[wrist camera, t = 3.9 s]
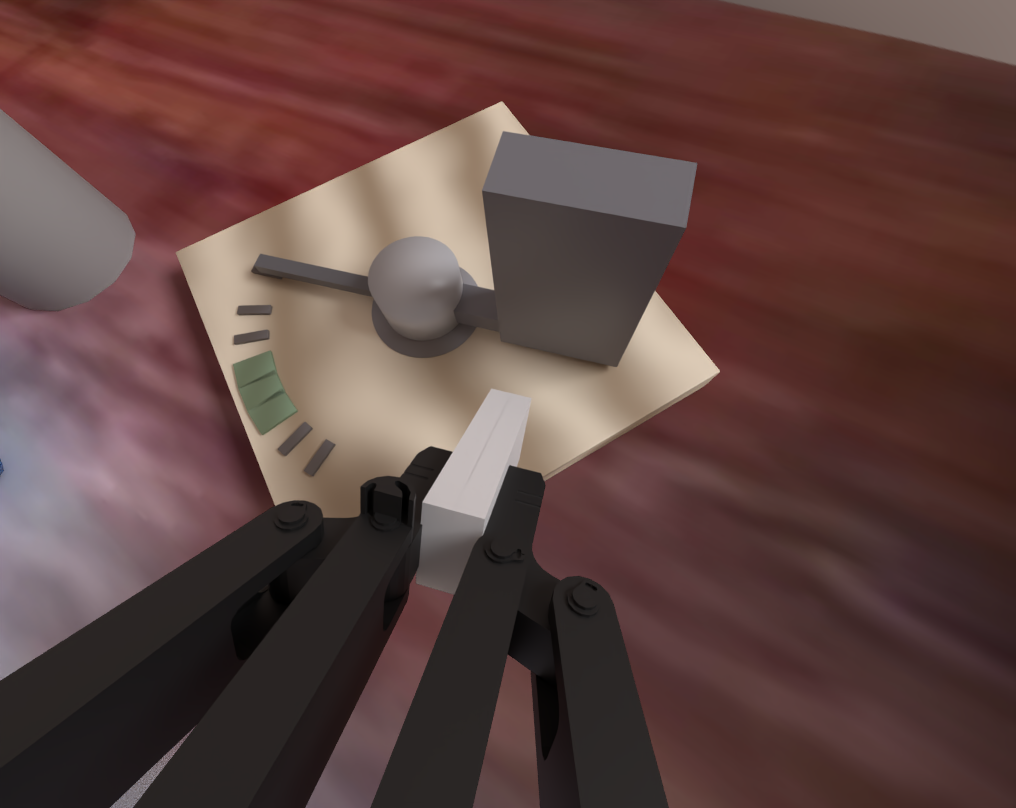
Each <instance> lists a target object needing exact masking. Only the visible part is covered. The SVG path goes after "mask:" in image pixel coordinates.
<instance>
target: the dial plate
mask: <svg viewBox="0 0 1016 808" xmlns="http://www.w3.org/2000/svg"><path fill="white" fill-rule="evenodd" d="M503 131H506V132H512V133H518V134H524V135H529V134H528V133H527V132H526V130H525V129H524V128H523V127H522V125H521V124H520V123H519V122H518V120H517V119H516V118H515V117H514V115H513V114H512V113H511V112H510V111H509V109H508V108H507V107H506V106H505V104H504V103H503V102H500V103H497V104H495V105H493V106H491V107H489V108H487V109H484V110H482V111H480V112H478V113H476V114H474V115H471V116H469V117H467V118H465V119H463V120H461V121H459V122H456V123H454V124H452V125H450V126H448V127H446V128H443V129H441V130H439V131H437V132H435V133H433V134H430V135H428V136H426V137H424V138H422V139H420V140H417V141H415V142H413V143H411V144H409V145H407V146H404V147H402V148H400V149H398V150H396V151H394V152H392V153H389V154H387V155H385V156H383V157H381V158H379V159H376V160H374V161H372V162H370V163H368V164H366V165H363V166H361V167H359V168H357V169H355V170H353V171H350V172H348V173H346V174H344V175H342V176H340V177H337V178H335V179H333V180H331V181H329V182H327V183H325V184H322V185H320V186H318V187H316V188H314V189H312V190H309V191H307V192H305V193H303V194H301V195H299V196H296V197H294V198H292V199H290V200H288V201H286V202H283V203H281V204H279V205H277V206H275V207H273V208H270V209H268V210H266V211H264V212H262V213H260V214H258V215H255V216H253V217H251V218H249V219H247V220H245V221H242V222H240V223H238V224H236V225H234V226H232V227H229V228H227V229H225V230H223V231H221V232H219V233H216V234H214V235H212V236H210V237H208V238H206V239H203V240H201V241H199V242H197V243H195V244H193V245H191V246H188V247H186V248H184V249H182V250H180V251H178V252H176V254H177V257H178V259H179V262H180V264H181V267H182V269H183V272H184V274H185V277H186V280H187V282H188V285H189V287H190V290H191V292H192V295H193V297H194V300H195V303H196V305H197V308H198V310H199V313H200V315H201V318H202V320H203V323H204V325H205V328H206V331H207V333H208V336H209V338H210V341H211V343H212V346H213V348H214V351H215V354H216V356H217V359H218V361H219V364H220V366H221V369H222V371H223V374H224V376H225V379H226V382H227V384H228V387H229V389H230V392H231V394H232V397H233V399H234V402H235V405H236V407H237V410H238V412H239V415H240V417H241V420H242V422H243V425H244V428H245V430H246V433H247V435H248V438H249V440H250V443H251V445H252V448H253V450H254V453H255V456H256V458H257V461H258V463H259V466H260V468H261V471H262V473H263V476H264V479H265V481H266V484H267V486H268V489H269V491H270V494H271V496H272V499H273V501H274V504H275V506H276V505H278V504H281V503H283V502H288V501H293V500H305V501H309V502H312V503H315V504H316V505H317V506H318V507H320V508H321V510H322V514H323V517H325V518H351V517H357V516H359V515H360V486H361V485H363V484H364V483H365V482H367V481H368V480H371V479H373V478H376V477H381V476H394V477H401V475H402V474H404V471H405V470H406V468H407V467H408V466H409V465H410V463H411V462H412V460H413V459H414V458H415V456H416V455H417V453H419V452H421V451H422V450H424V449H426V448H428V447H430V446H433V447H437V448H440V449H444V450H448V451H452V452H453V451H454V449H455V448H456V446H457V444H458V443H459V441H460V439H461V438H462V436H463V434H464V433H465V431H466V430H467V428H468V426H469V425H470V423H471V421H472V420H473V418H474V416H475V415H476V413H477V411H478V410H479V408H480V406H481V405H482V403H483V402H484V400H485V398H486V397H487V395H488V393H489V392H490V390H491V389H496V390H500V391H504V392H508V393H513V394H517V395H521V396H525V397H529V398H532V399H531V404H530V409H529V414H528V419H527V424H526V429H525V433H524V438H523V443H522V448H521V453H520V458H519V462H518V465H517V467H519V468H523V469H527V470H531V471H535V472H539V473H541V474H542V477H543V479H544V481H545V480H547V479H549V478H550V477H552V476H554V475H555V474H557V473H559V472H560V471H562V470H564V469H566V468H567V467H569V466H571V465H572V464H574V463H576V462H577V461H579V460H581V459H582V458H584V457H586V456H587V455H589V454H591V453H592V452H594V451H596V450H597V449H599V448H601V447H603V446H604V445H606V444H608V443H609V442H611V441H613V440H614V439H616V438H618V437H619V436H621V435H623V434H624V433H626V432H628V431H629V430H631V429H633V428H634V427H636V426H638V425H640V424H641V423H643V422H645V421H646V420H648V419H650V418H651V417H653V416H655V415H656V414H658V413H660V412H661V411H663V410H665V409H666V408H668V407H670V406H671V405H673V404H675V403H677V402H678V401H680V400H682V399H683V398H685V397H687V396H688V395H690V394H692V393H693V392H695V391H697V390H698V389H700V388H702V387H703V386H705V385H706V384H707V383H708V382H709V381H710V380H712V379H713V378H714V377H715V376H716V375H717V374H718V373H719V372H720V371H719V369H718V368H717V367H716V366H715V364H714V363H713V362H712V361H711V359H710V358H709V357H708V356H707V355H706V353H705V352H704V351H703V350H702V348H701V347H700V346H699V345H698V343H697V342H696V341H695V340H694V338H693V337H692V336H691V335H690V333H689V332H688V331H687V330H686V329H685V327H684V326H683V325H682V324H681V322H680V321H679V320H678V319H677V317H676V316H675V315H674V314H673V312H672V311H671V310H670V309H669V307H668V306H667V305H666V304H665V303H664V301H663V300H662V299H661V298H660V296H659V295H658V294H657V293H656V291H655V292H654V294H653V296H652V298H651V300H650V302H649V304H648V306H647V308H646V310H645V312H644V314H643V316H642V318H641V320H640V322H639V324H638V326H637V328H636V330H635V332H634V334H633V336H632V338H631V340H630V342H629V344H628V346H627V348H626V350H625V352H624V354H623V356H622V358H621V360H620V362H619V364H618V366H617V367H613V366H609V365H604V364H600V363H595V362H591V361H586V360H582V359H577V358H573V357H568V356H564V355H559V354H555V353H550V352H546V351H542V350H537V349H533V348H528V347H524V346H519V345H515V344H510V343H506V342H501V339H500V332H497V331H492V330H488V329H483V328H479V327H474V326H470V325H465V324H461V323H458V325H457V326H456V327H455V328H454V329H453V330H451V331H450V332H449V333H447V334H445V335H444V336H441V337H439V338H436V339H432V340H425V341H419V340H412V339H409V338H406V337H404V336H402V335H400V334H398V333H397V332H396V331H395V330H394V329H393V328H392V327H391V326H390V324H389V323H388V321H387V319H386V318H385V316H384V314H383V313H382V311H381V310H380V308H379V306H378V305H377V303H376V301H375V300H374V298H373V297H370V296H366V295H361V294H357V293H352V292H348V291H343V290H339V289H334V288H329V287H325V286H320V285H316V284H311V283H307V282H302V281H297V280H293V279H288V278H284V277H279V276H275V275H270V274H266V273H261V272H259V271H258V270H257V269H256V267H255V266H254V264H255V262H256V260H257V258H258V256H259V255H260V254H265V255H269V256H274V257H279V258H283V259H288V260H293V261H297V262H302V263H307V264H312V265H316V266H321V267H326V268H330V269H335V270H340V271H344V272H349V273H354V274H358V275H363V276H368V273H369V269H370V266H371V264H372V262H373V260H374V259H375V257H376V256H377V255H378V254H379V252H380V251H382V250H383V249H384V248H385V247H386V246H388V245H389V244H391V243H393V242H395V241H397V240H400V239H403V238H407V237H414V236H423V237H429V238H433V239H435V240H438V241H440V242H442V243H443V244H445V245H446V246H447V247H448V248H449V249H450V250H451V251H452V252H453V253H454V255H455V257H456V259H457V261H458V265H459V269H460V273H461V277H462V281H463V284H468V285H472V286H477V287H482V288H487V289H491V290H494V283H493V275H492V267H491V259H490V251H489V243H488V235H487V227H486V219H485V211H484V203H483V195H482V189H483V186H484V183H485V180H486V178H487V175H488V172H489V169H490V166H491V163H492V161H493V158H494V155H495V152H496V149H497V146H498V144H499V141H500V138H501V135H502V132H503Z"/></svg>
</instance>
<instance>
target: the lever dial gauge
mask: <svg viewBox="0 0 1016 808" xmlns="http://www.w3.org/2000/svg"><path fill="white" fill-rule="evenodd" d="M696 168H697V163H693V162H687V161H681V160H675V159H669V158H663V157H657V156H651V155H645V154H639V153H633V152H627V151H621V150H615V149H609V148H603V147H597V146H591V145H584V144H578V143H572V142H566V141H560V140H554V139H548V138H542V137H536V136H530V135H524V134H518V133H512V132H506V131H503V132H502V135H501V138H500V141H499V144H498V146H497V149H496V152H495V155H494V158H493V161H492V163H491V166H490V169H489V172H488V175H487V178H486V180H485V183H484V186H483V189H482V195H483V203H484V211H485V219H486V227H487V235H488V243H489V251H490V259H491V267H492V275H493V283H494V290H491V289H487V288H482V287H477V286H472V285H468V284H463V281H462V277H461V273H460V269H459V265H458V261H457V259H456V257H455V255H454V253H453V252H452V251H451V250H450V249H449V248H448V247H447V246H446V245H445V244H443V243H442V242H440V241H438V240H435V239H433V238H429V237H423V236H414V237H407V238H403V239H400V240H397V241H395V242H393V243H391V244H389V245H388V246H386V247H385V248H384V249H383V250H382V251H380V252H379V254H378V255H377V256H376V257H375V259H374V260H373V262H372V264H371V266H370V269H369V273H368V276H363V275H358V274H354V273H349V272H344V271H340V270H335V269H330V268H326V267H321V266H316V265H312V264H307V263H302V262H297V261H293V260H288V259H283V258H279V257H274V256H269V255H265V254H260V255H259V256H258V258H257V260H256V262H255V264H254V266H255V267H256V269H257V270H258V271H259V272H261V273H266V274H270V275H275V276H279V277H284V278H288V279H293V280H297V281H302V282H307V283H311V284H316V285H320V286H325V287H329V288H334V289H339V290H343V291H348V292H352V293H357V294H361V295H366V296H370V297H373V298H374V300H375V301H376V303H377V305H378V306H379V308H380V310H381V311H382V313H383V314H384V316H385V318H386V319H387V321H388V323H389V324H390V326H391V327H392V328H393V329H394V330H395V331H396V332H397V333H398V334H400V335H402V336H404V337H406V338H409V339H412V340H419V341H425V340H432V339H436V338H439V337H441V336H444V335H445V334H447V333H449V332H450V331H451V330H453V329H454V328H455V327H456V326H457V325H458V323H461V324H465V325H470V326H474V327H479V328H483V329H488V330H492V331H497V332H500V339H501V342H506V343H510V344H515V345H519V346H524V347H528V348H533V349H537V350H542V351H546V352H550V353H555V354H559V355H564V356H568V357H573V358H577V359H582V360H586V361H591V362H595V363H600V364H604V365H609V366H613V367H617V366H618V364H619V362H620V360H621V358H622V356H623V354H624V352H625V350H626V348H627V346H628V344H629V342H630V340H631V338H632V336H633V334H634V332H635V330H636V328H637V326H638V324H639V322H640V320H641V318H642V316H643V314H644V312H645V310H646V308H647V306H648V304H649V302H650V300H651V298H652V296H653V294H654V292H655V290H656V288H657V286H658V284H659V281H660V279H661V277H662V275H663V273H664V271H665V269H666V267H667V265H668V263H669V261H670V259H671V257H672V255H673V253H674V251H675V249H676V247H677V245H678V243H679V241H680V239H681V237H682V235H683V233H684V231H685V229H686V226H687V220H688V214H689V208H690V202H691V197H692V191H693V185H694V179H695V173H696Z"/></svg>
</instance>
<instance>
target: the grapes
mask: <svg viewBox="0 0 1016 808" xmlns="http://www.w3.org/2000/svg"><path fill="white" fill-rule="evenodd" d="M3 471H4V470H3V465H2V462H1V460H0V475H1V474H2V472H3Z"/></svg>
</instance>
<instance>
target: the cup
mask: <svg viewBox="0 0 1016 808" xmlns="http://www.w3.org/2000/svg"><path fill="white" fill-rule="evenodd" d="M134 239H135V232H134V230H133V227H132V225H131V223H130V221H129V219H128V216H127V215H126V214H125V213H124V212H123V211H122V210H120V209H119V208H118V207H117V206H116V205H114V204H113V203H112V202H111V201H110V200H108V199H107V198H106V197H105V196H104V195H102V194H101V193H100V192H99V191H98V190H97V189H95V188H94V187H93V186H92V185H91V184H89V183H88V182H87V181H86V180H85V179H83V178H82V177H81V176H80V175H79V174H77V173H76V172H75V171H74V170H73V169H71V168H70V167H69V166H68V165H67V164H65V163H64V162H63V161H62V160H61V159H59V158H58V157H57V156H56V155H55V154H54V153H52V152H51V151H50V150H49V149H48V148H46V147H45V146H44V145H43V144H42V143H40V142H39V141H38V140H37V139H36V138H34V137H33V136H32V135H31V134H30V133H28V132H27V131H26V130H25V129H24V128H22V127H21V126H20V125H19V124H18V123H16V122H15V121H14V120H13V119H12V118H11V117H9V116H8V115H7V114H6V113H5V112H3V111H2V110H1V109H0V295H1V296H3V297H5V298H7V299H10V300H12V301H14V302H16V303H18V304H20V305H22V306H24V307H26V308H28V309H33V310H48V311H60V310H63V309H66V308H69V307H72V306H75V305H78V304H81V303H85V302H88V301H89V300H91V299H92V298H93V297H95V296H96V295H98V294H99V293H100V292H102V291H103V290H104V289H106V288H107V287H109V286H110V285H111V284H113V283H114V282H115V281H116V279H117V278H118V276H119V275H120V274H121V272H122V271H123V269H124V268H125V266H126V265H127V263H128V262H129V261H130V259H131V257H132V251H133V245H134Z"/></svg>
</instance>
